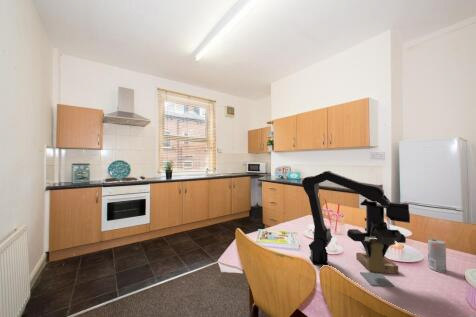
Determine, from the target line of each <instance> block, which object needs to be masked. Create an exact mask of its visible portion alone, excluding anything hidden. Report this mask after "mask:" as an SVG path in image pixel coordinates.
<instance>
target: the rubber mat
mask: <svg viewBox="0 0 476 317" xmlns="http://www.w3.org/2000/svg"><path fill="white" fill-rule="evenodd" d="M359 274H360V275H361V276H362V277H363V279H365V280H366V282H367V283H368V284H369V285H370V286H372V287H385V288H386V287H387V288H388V287H390V288H395V284H393V283H392V282H391V280H389V279H388V278H387V277H386V276H385V275H383V273H371V272H369V271H368V272H363V271H361V272H359Z"/></svg>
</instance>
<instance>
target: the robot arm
mask: <svg viewBox="0 0 476 317" xmlns="http://www.w3.org/2000/svg"><path fill="white" fill-rule="evenodd" d="M326 181H327V182H330V183H333V184H336V185H338V186H341V187H344V188H346V189H349V190H352V191H354V192H356V193H358V194H359V195H360V196H361V197H363V198H365V199H364V200H363V201H361V202H360V206H363V207H364V206H365V209H366V210H365V211H366V212H365V217H364V221H365V223H366V227H365V228H364V231H365V232H363V231H361V230H359V229H355V228H352V229H351V228H348V230H347V232H346V233H347V234H346V235H347V237H348V238H350V239H351V240H352V241H354V242H360V243H361V244H362V247H363V249H364V251H365V253H367V256H368V257H369V258H370V256H371V248H370V245H371V244H372V242H370V241H369V239H371V238H373V239H377V240H378V241H379V243H381V244H383V245H384V247H383V249H382V253H383V258H384V256H385V255H386V254H387V251H388V249H389V247H390V246H391V247H392V246H394V245H396V243H397V244H405V243H407V238H406V236H405V234H403V233H401V231H400V230H399V229H391V228H390V229H389V228H388V224H387V222H386V221H385V217H386V218H387V219H389V221H393V222H399V223H406V224H411V220H410V219H411V215H410V205H409V203H407V202H403V203H400V202H394V201H393V202H391V200H390V199H389V198H388V197H387V195H385V190H384V188H383V187H381V186H380V185H376V184H374V183H373V184H372V183H368V182H367V183H366V182H360V181H357V180H354V179H352V178H349V177H345V176H344V175H343V176H342V175H340V174H337V173H335V172H332V171H330V170H326V171H325V170H324V171H322V172H321V173H319V174H317V175H311V176H307V177H304V178H303V179H302V180H301V185H302V187H303V190H304V192H305V194H306V195H307V197H308V202H309V207H310V212H311V216H312V221H313V226H314V230H313V240H312V241H311V242H310V243H309V244H308V247H309V250H310V255H309V259H310V261H311V263H312V265H314V266H315V265H316V266H318V265H321V266H328V265H329V263H328V262H329V260H328V258H329V256H328V251H327V248H326V247H328V245H329V244H330V243H331V241H332V239H333V236H332V233H331V228H327V226H326V225H325V220H324V216H323V210H322V207H321V202H320V197H319V190H320V184H321V183H323V182H326ZM385 257H386V256H385Z"/></svg>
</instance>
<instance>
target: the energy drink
mask: <svg viewBox="0 0 476 317" xmlns="http://www.w3.org/2000/svg"><path fill="white" fill-rule="evenodd" d="M427 251H428V252H427V257H428V258H427V259H428V260H427V263H428V264H427V266H428V268H430V270H431V271H434V272H438V273H441V274H442V273H443V274H444V273H446V272H447V245H446V241H443V240H440V239H437V238H429V239H428V240H427Z"/></svg>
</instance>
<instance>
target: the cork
mask: <svg viewBox="0 0 476 317" xmlns="http://www.w3.org/2000/svg"><path fill="white" fill-rule="evenodd" d="M369 241H370V242H372V244H371V245H370V248H371V256H370V258H369V257H368V259H367V267H368V268H369V269H370V270H373V271H376V272H385V265H384V259H383V253H382V249H383V247H384V245H383V244H381V243H379V241H378V240H377V238H369Z"/></svg>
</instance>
